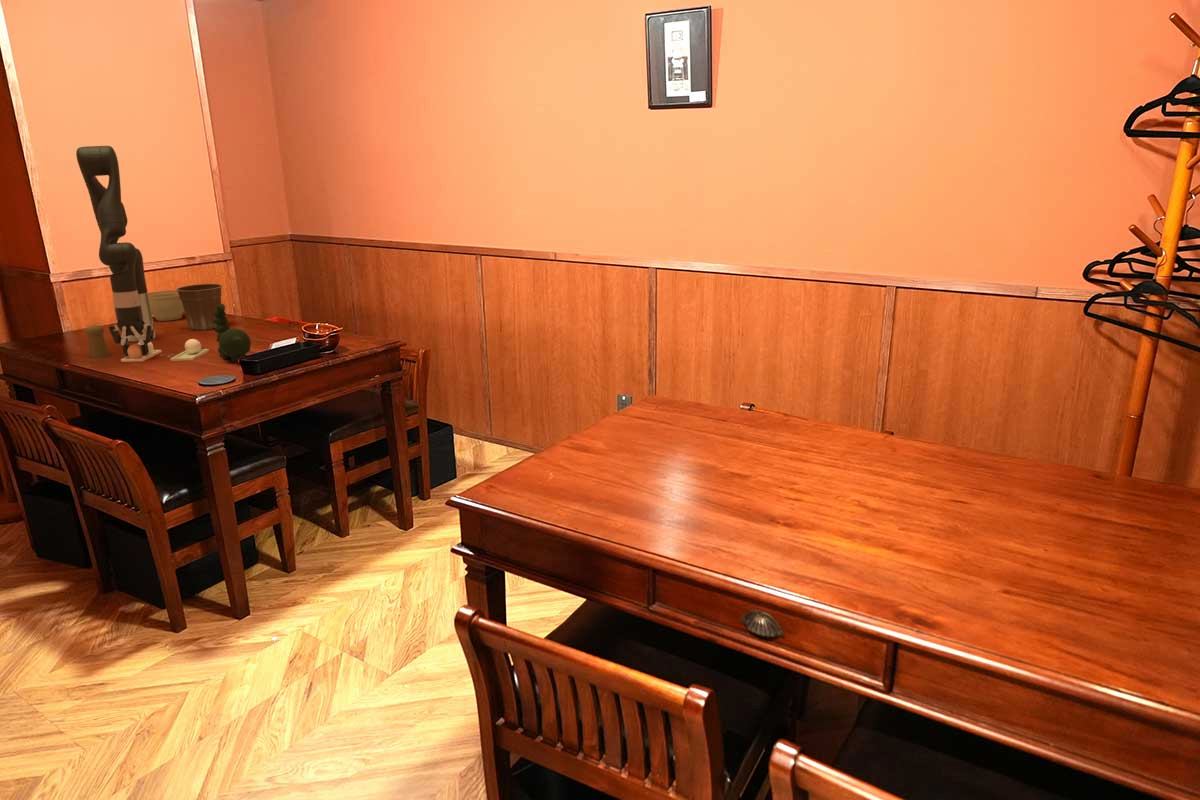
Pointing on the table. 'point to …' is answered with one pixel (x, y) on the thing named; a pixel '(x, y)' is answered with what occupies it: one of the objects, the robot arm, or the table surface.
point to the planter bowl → (166, 305)
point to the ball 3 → (192, 346)
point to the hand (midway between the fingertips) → (136, 355)
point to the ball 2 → (150, 347)
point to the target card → (167, 356)
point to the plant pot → (200, 304)
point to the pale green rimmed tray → (188, 355)
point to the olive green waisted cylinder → (96, 342)
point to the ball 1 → (135, 351)
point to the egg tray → (153, 353)
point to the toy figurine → (230, 337)
